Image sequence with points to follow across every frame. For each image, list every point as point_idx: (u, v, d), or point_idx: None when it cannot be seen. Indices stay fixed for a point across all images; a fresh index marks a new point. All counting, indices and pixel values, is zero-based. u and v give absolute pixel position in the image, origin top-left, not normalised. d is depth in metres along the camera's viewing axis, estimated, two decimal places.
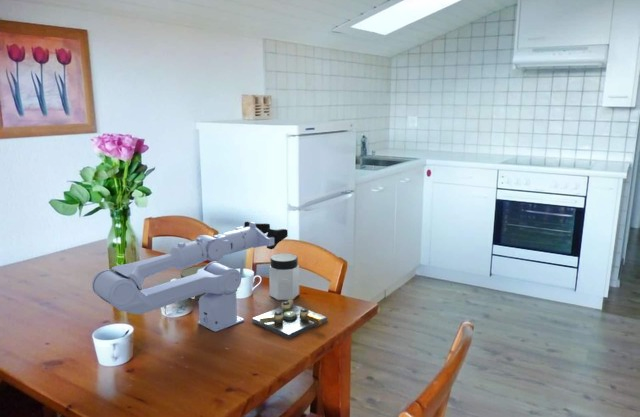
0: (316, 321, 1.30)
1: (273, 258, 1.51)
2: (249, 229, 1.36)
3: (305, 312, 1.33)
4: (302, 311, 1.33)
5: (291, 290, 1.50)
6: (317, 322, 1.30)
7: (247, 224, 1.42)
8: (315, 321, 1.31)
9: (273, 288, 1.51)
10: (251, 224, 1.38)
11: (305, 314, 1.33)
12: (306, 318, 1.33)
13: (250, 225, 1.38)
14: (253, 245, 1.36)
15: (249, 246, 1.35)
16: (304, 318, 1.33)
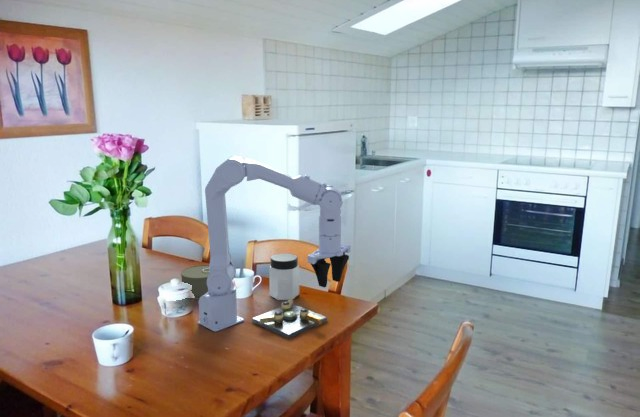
0: (316, 321, 1.30)
1: (273, 258, 1.51)
2: (334, 246, 1.30)
3: (305, 312, 1.33)
4: (302, 311, 1.33)
5: (291, 290, 1.50)
6: (317, 322, 1.30)
7: (347, 255, 1.35)
8: (315, 321, 1.31)
9: (273, 288, 1.51)
10: (339, 252, 1.30)
11: (305, 314, 1.33)
12: (306, 318, 1.33)
13: (340, 252, 1.31)
14: (319, 245, 1.32)
15: (319, 240, 1.31)
16: (304, 318, 1.33)
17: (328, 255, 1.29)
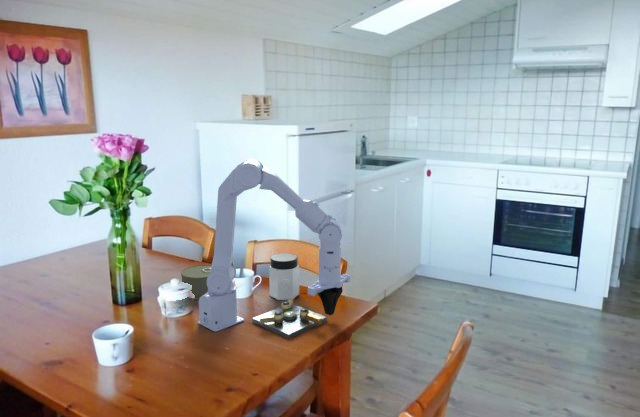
0: (316, 321, 1.30)
1: (273, 258, 1.51)
2: (334, 278, 1.31)
3: (305, 312, 1.33)
4: (302, 311, 1.33)
5: (291, 290, 1.50)
6: (317, 322, 1.30)
7: None
8: (315, 321, 1.31)
9: (273, 288, 1.51)
10: (339, 284, 1.32)
11: (305, 314, 1.33)
12: (306, 318, 1.33)
13: (339, 283, 1.33)
14: (319, 277, 1.33)
15: (319, 272, 1.33)
16: (304, 318, 1.33)
17: (328, 287, 1.31)
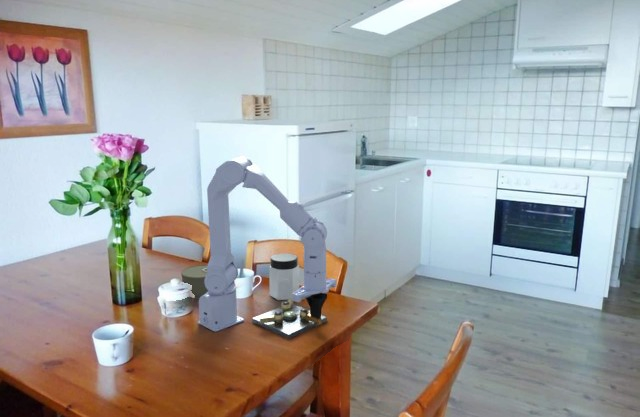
0: (316, 321, 1.30)
1: (273, 258, 1.51)
2: (319, 283, 1.27)
3: (305, 312, 1.33)
4: (302, 311, 1.33)
5: (291, 290, 1.50)
6: (317, 322, 1.30)
7: None
8: (315, 321, 1.31)
9: (273, 288, 1.51)
10: (325, 289, 1.28)
11: (305, 314, 1.33)
12: (306, 318, 1.33)
13: (325, 288, 1.29)
14: (304, 282, 1.30)
15: (304, 277, 1.29)
16: (304, 318, 1.33)
17: (313, 292, 1.27)
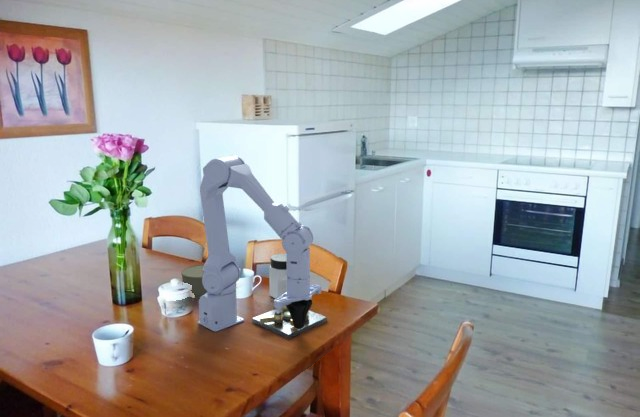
0: None
1: (273, 258, 1.51)
2: (302, 290, 1.23)
3: None
4: None
5: None
6: None
7: None
8: None
9: (273, 288, 1.51)
10: (308, 296, 1.24)
11: None
12: None
13: (308, 295, 1.24)
14: (287, 288, 1.25)
15: (287, 283, 1.25)
16: None
17: (296, 299, 1.23)
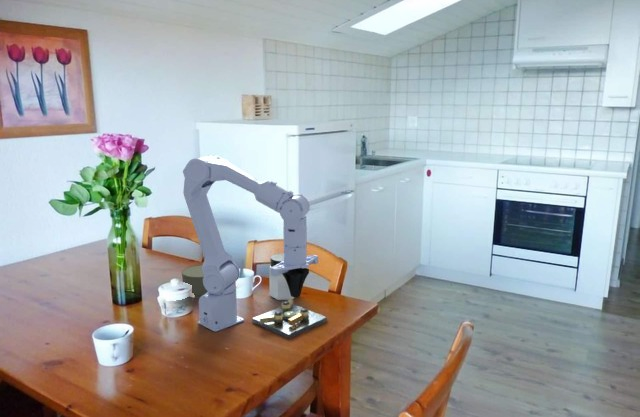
0: None
1: (273, 258, 1.51)
2: (299, 258, 1.24)
3: (300, 311, 1.34)
4: (301, 309, 1.34)
5: None
6: None
7: None
8: None
9: (273, 288, 1.51)
10: (305, 264, 1.24)
11: None
12: None
13: (305, 263, 1.25)
14: None
15: None
16: None
17: (292, 267, 1.23)
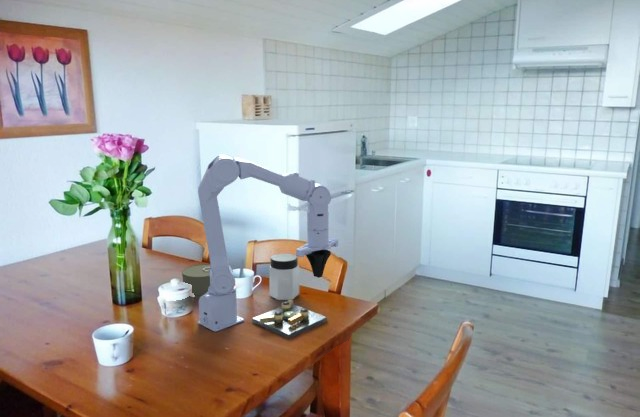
0: None
1: (273, 258, 1.51)
2: (322, 240, 1.35)
3: (300, 311, 1.34)
4: (301, 309, 1.34)
5: (291, 290, 1.50)
6: None
7: None
8: None
9: (273, 288, 1.51)
10: (327, 246, 1.36)
11: None
12: None
13: (327, 245, 1.36)
14: (307, 239, 1.37)
15: (307, 235, 1.37)
16: None
17: (316, 249, 1.34)
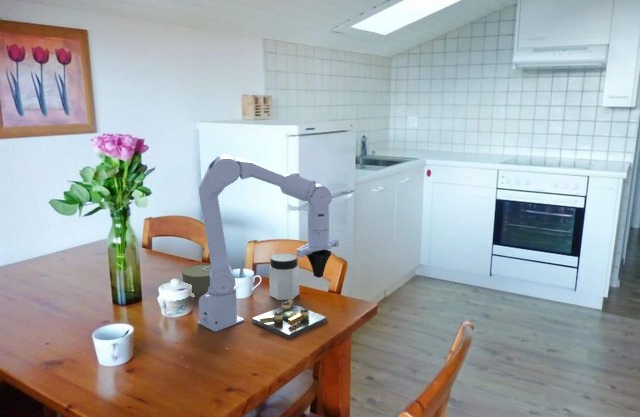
0: None
1: (273, 258, 1.51)
2: (322, 240, 1.35)
3: (300, 311, 1.34)
4: (301, 309, 1.34)
5: (291, 290, 1.50)
6: None
7: None
8: None
9: (273, 288, 1.51)
10: (327, 246, 1.36)
11: None
12: None
13: (328, 246, 1.36)
14: (308, 240, 1.37)
15: (308, 235, 1.37)
16: None
17: (316, 249, 1.35)
